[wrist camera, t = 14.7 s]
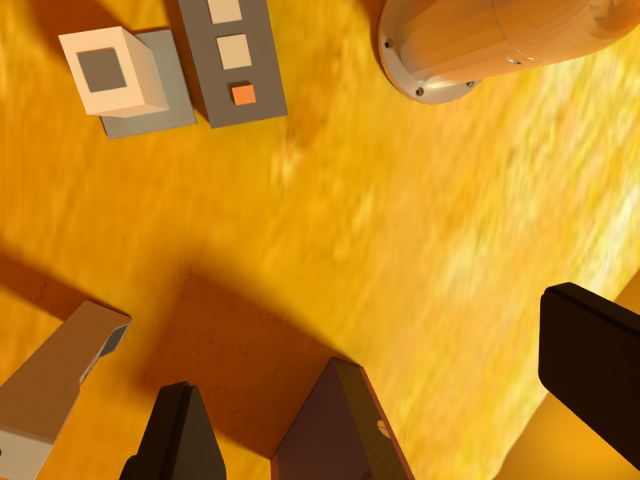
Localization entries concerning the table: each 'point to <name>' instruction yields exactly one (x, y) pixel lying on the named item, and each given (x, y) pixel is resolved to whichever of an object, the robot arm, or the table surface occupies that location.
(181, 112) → the rubber mat
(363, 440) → the cereal box
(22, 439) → the vintage mobile phone
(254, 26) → the charging dock
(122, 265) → the table surface
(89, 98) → the plug
